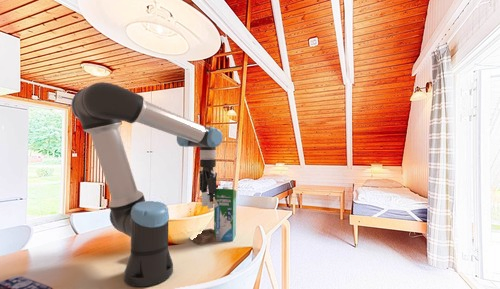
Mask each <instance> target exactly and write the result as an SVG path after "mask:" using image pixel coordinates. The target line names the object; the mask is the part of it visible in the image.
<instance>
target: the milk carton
mask: <svg viewBox="0 0 500 289" xmlns="http://www.w3.org/2000/svg"><path fill="white" fill-rule="evenodd" d="M213 209H214V210H213V230H214V235H215V238H216V241H215V242H234V240H235V237H236V236H237V233H236V232H237V190H235V189H234V188H231V187H228V186H222V188H216V194H214V201H213Z"/></svg>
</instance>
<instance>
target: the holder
mask: <svg viewBox="0 0 500 289" xmlns="http://www.w3.org/2000/svg"><path fill="white" fill-rule="evenodd" d="M202 230H203V231H202V233H201V234H198V235H197V237H196V238H194V239H193V240H191V241H192V242H193V243H195V244H196V245H197V246H199V245H200V246H201V245H204V244H208V243H211V242H212V243H213V242H217V241H216V238H215V235H214V228H206V229H202Z"/></svg>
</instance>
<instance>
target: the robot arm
mask: <svg viewBox="0 0 500 289" xmlns="http://www.w3.org/2000/svg"><path fill="white" fill-rule="evenodd" d="M70 104H71V110H72V113H73V114H74V116H75V117H76V118H77V119H78V120H79V122H80V125H81V127H82V130H83V131H84V132H85V133H88V134H89V135H90V138H91V140H92V143H93V147H94V149H95V152H96V156H97V158H98V162H99V164H100V167H101V169H102V170H101V171H102V174H103V176H104V179H105V182H106V185H107V188H108V191H109V194H110V197H111V199H110V201H109V204H108V207H109V210H110V212H109V221H110V223H111V225H112V226H113V228H114V229H116V230H117V231H118V232H121V233H123V234H125V235H126V236H128V237H129V238H130V255H129V256H128V257H129V258H128V260H127V262H126V266H125V270H124V274H123V276H124V277H123V279H124V282H125V283H126V284H127V285H129V286H131V287H142V288H143V287H150V286H154V285H157V284H159V283H163V282H164V281H166V280H167V279H169V278H170V277H171V276H172V274H173V272H174V262H173V259H172V256H171V254H170V250H169V219H170V215H169V214H170V213H169V208H168V206H167V205H166V204H165V203H164V202H161V201H153V200H146V199H145V195H144V193H143V192H142V191H140V190H138V188H137V185H136V182H135V179H134V175H133V172H132V169H131V166H130V163H129V159H128V155H127V152H126V150H125V146H124V144H123V143H124V142H123V140H122V136H121V133H120V130H119V129H120V128H119V127H120V126H121V124H122V121H123V122H126V123H128V124H129V123H130V124H135V123H138V124H141V125H144V126H146V127H150V128H153V129H156V130H158V131H161V132H165V133H166V134H170V135H173V136H176V142H177V145H178V146H180V147H184V148H189V147H190V148H191V147H195V148H196V147H197V148H198V147H199V158H200V160H199V167H200V168H201V170H199V172H198V173H199V191H200V192H201V206H202V207H207V209H208V210H209V209H214V195H215V194H216V189H217V175H218V173H217V172H215V171H214V168H215V167H216V164H217V160H216V158H217V156H216V155H217V152H216V150H217V149H216V147H219V146H220V145H221V144H222V143H223V138H224V135H223V133H222V131H221V130H220V129H219V128H215V127H214V126H205V125H202V124H200V123H197V122H195V121H192V120H190V119H188V118H186V117H183V116H181V115H179V114H177V113H175V112H172V111H170V110H167V109H165V108H163V107H160V106H158V105H156V104H153V103H151V102H149V101H146V100H145V98H144V96H143V95H140V94H138V93H136V92H134V91H132V90H130V89H126V88H124V87H122V86H119V85H117V84H113V83H111V82H105V81H103V82H102V81H101V82H96V83H92V84H91V85H88V86H87V87H84V88H81V89H80V90H78V91H77V92H76V93H75V94H74V96H73V98H72V99H71V103H70Z"/></svg>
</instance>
